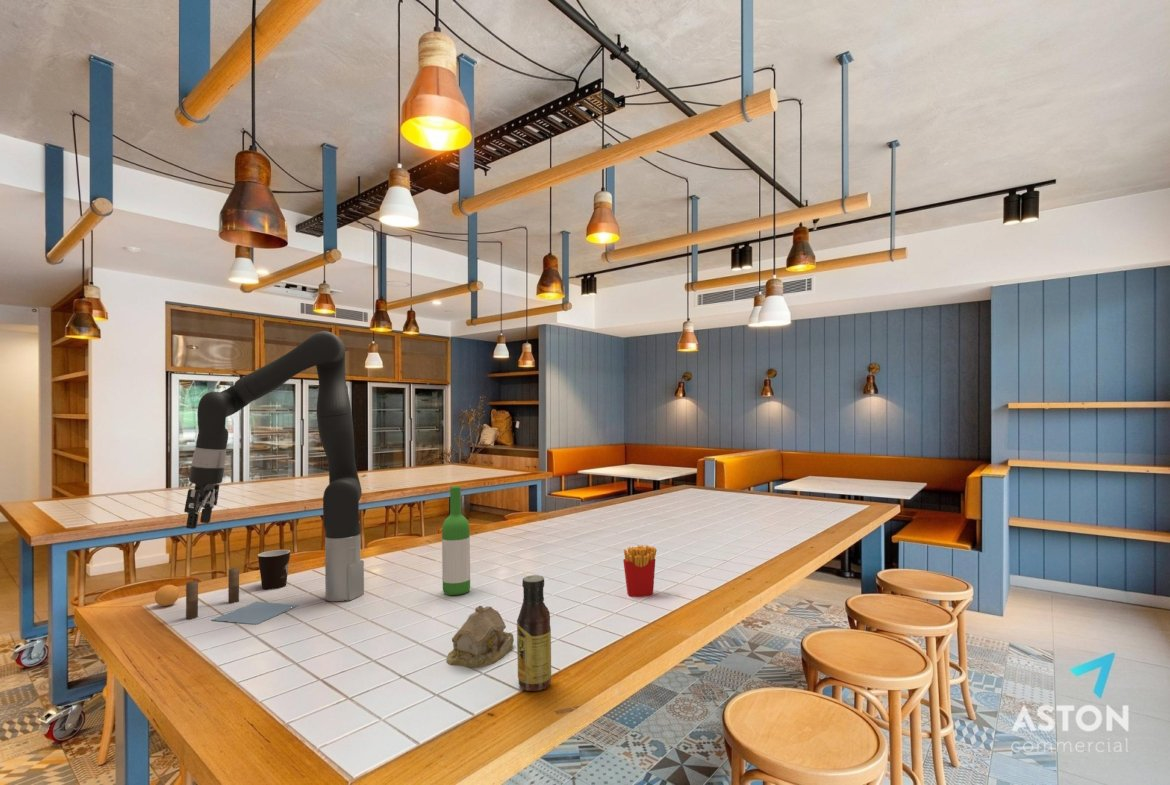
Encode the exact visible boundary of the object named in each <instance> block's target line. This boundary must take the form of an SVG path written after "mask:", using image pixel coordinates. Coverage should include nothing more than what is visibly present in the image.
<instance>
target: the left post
mask: <svg viewBox="0 0 1170 785" xmlns="http://www.w3.org/2000/svg"><path fill="white" fill-rule="evenodd" d="M185 587H186V588H185V590H186V591H185V619H186V620H193V619H192V618H194V619H197V618H199V615H198V614H199V580H190V581H187V582H186V584H185ZM196 617H197V618H196Z"/></svg>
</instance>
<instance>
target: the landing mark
mask: <svg viewBox="0 0 1170 785" xmlns="http://www.w3.org/2000/svg"><path fill="white" fill-rule="evenodd" d="M298 605H299V604H294V603H293V604H291V603H277V602H265V601H263V602H262V601H254V602H252V603H250V604H248V605H244V606H243V607H242V606H241V607H240V608H237V609H235V610H231V611H230V612H227V613H225V614H222V615H220V616H217V617H215V618H212V619H211V620H212V621H211V622H220V621H228V622H227V623H231V622H237V623H236V624H242V623H245V624H244V625H253V624H257V625H259V624H262V623H263V621H264V622H266V621H268V620H271V619H272V617H273V618H274V617H277V616H279V615H281V613H282V614H283V612H284V613H286V612H288V611H290V610H289V609H291V607H292V608H293V607H295V608H297V607H299V606H298ZM296 606H297V607H296ZM293 609H294V608H293ZM287 610H288V611H287ZM291 610H292V609H291ZM285 611H286V612H285ZM213 620H214V621H213ZM215 620H216V621H215ZM265 620H266V621H265ZM261 622H262V623H261Z"/></svg>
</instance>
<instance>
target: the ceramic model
mask: <svg viewBox="0 0 1170 785" xmlns="http://www.w3.org/2000/svg"><path fill="white" fill-rule="evenodd" d="M474 611H475V612H473V613H471V614H470V615H468V617H467V619H466V621H465V622H464V623H463V624H462V625H461V627H460V629H458V631H457V632H456V633H455V634H454V636H453V637H452V638H451V642H452V647H453V649H452V650H451V651H450V652H448V654H447V658H446V662H447V663H448V664H449V665H455V666H464V667H466V668H481V667H485V666H489V665H491V664H494V663H496V662H498V661H499V660H500V659H502V657H504V656H506V655H507V653H509V652H510V650H511V649H512V646H514V645H513V643H514V640H515V639H514V634H513V633H512V632H506V631H504V630H505V629H506V628H507V626H506V624H505V621H504V620H503V618H502V616H501V614H500V613H499V611H498V610H495V609H494V608H493V607H492V606H485V607H483V606H482V605H479V606H476V607H475V610H474Z"/></svg>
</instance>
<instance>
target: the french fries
mask: <svg viewBox="0 0 1170 785" xmlns="http://www.w3.org/2000/svg"><path fill="white" fill-rule="evenodd" d="M656 554H657V548H656V547H655V546H650V545H645V546H644V545H642V544H641V545H637V546H632V547H631V546H629V547H627V549H626V548H624V549H623V556H624V559H622V561H623V568H624V576H625V577H624V578H625V585H626V586H625V587H626V594H627V596H629V597H631V598H638V597H639V598H641V597H651V596H652V595H654V586H655V584H654V583H655V570H656Z"/></svg>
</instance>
